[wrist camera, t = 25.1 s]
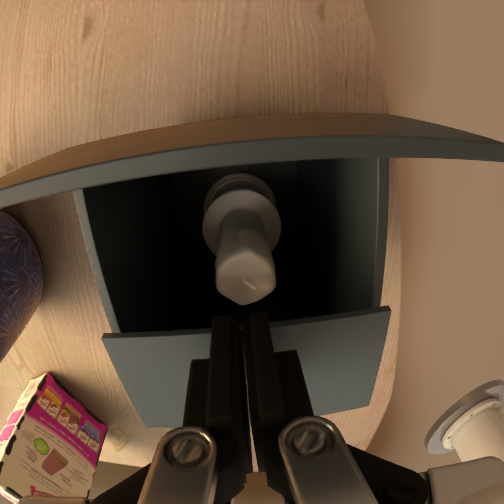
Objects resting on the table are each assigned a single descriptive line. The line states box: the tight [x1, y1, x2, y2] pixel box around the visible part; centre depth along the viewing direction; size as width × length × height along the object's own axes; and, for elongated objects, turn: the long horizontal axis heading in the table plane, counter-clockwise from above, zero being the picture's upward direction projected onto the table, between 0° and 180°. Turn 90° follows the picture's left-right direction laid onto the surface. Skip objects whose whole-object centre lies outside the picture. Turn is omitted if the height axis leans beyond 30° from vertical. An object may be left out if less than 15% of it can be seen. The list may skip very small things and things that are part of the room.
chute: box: [0, 113, 504, 333], centre depth 15 cm, size 12×10×20 cm
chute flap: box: [102, 306, 391, 428], centre depth 11 cm, size 5×10×1 cm, turn 95°
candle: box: [202, 173, 281, 305], centre depth 18 cm, size 5×5×12 cm
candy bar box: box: [0, 372, 108, 504], centre depth 24 cm, size 11×5×16 cm, turn 29°
